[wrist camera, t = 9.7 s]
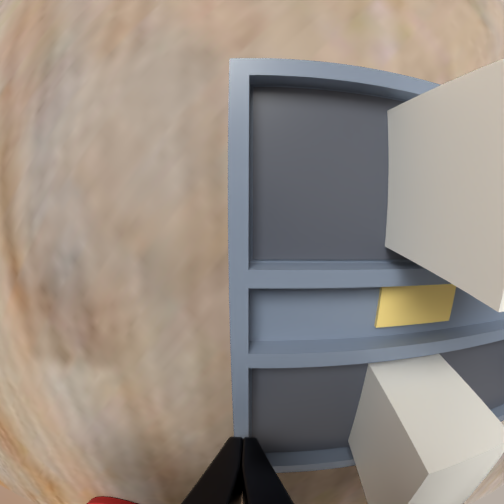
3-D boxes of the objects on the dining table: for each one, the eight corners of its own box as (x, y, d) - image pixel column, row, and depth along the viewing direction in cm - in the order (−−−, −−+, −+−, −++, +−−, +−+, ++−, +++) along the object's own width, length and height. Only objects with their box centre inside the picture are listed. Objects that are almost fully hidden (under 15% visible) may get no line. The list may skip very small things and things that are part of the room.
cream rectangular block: (464, 127, 7) (580, 110, 3) (460, 247, 8) (572, 297, 3) (387, 110, 7) (503, 58, 3) (384, 246, 8) (498, 312, 3)
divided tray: (581, 163, 8) (604, 165, 6) (540, 377, 11) (556, 391, 10) (234, 81, 9) (229, 58, 7) (238, 439, 12) (236, 472, 10)
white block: (439, 353, 9) (513, 437, 4) (411, 429, 10) (455, 512, 5) (368, 363, 9) (428, 473, 4) (348, 440, 10) (377, 539, 5)
